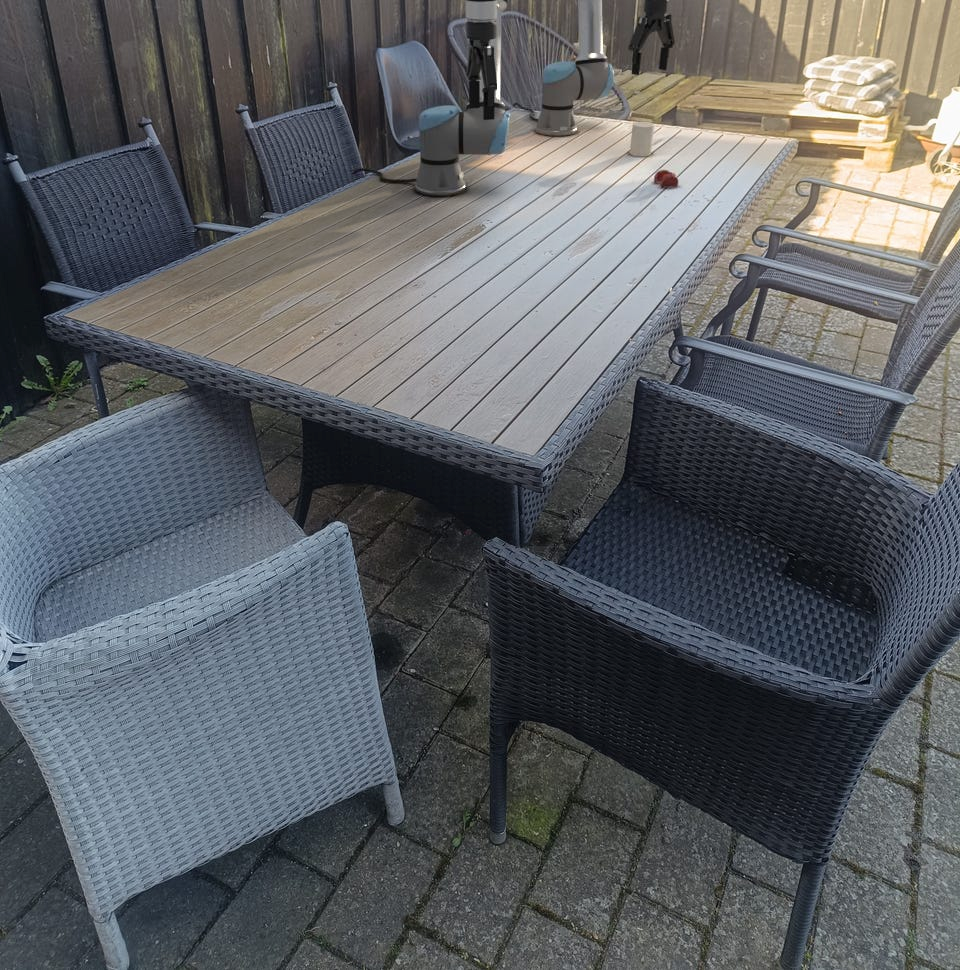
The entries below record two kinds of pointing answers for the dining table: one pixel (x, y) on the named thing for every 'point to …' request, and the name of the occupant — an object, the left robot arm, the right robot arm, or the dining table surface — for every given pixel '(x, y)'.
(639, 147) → the cylinder
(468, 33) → the left robot arm
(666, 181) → the red rounded lump
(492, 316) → the dining table surface
